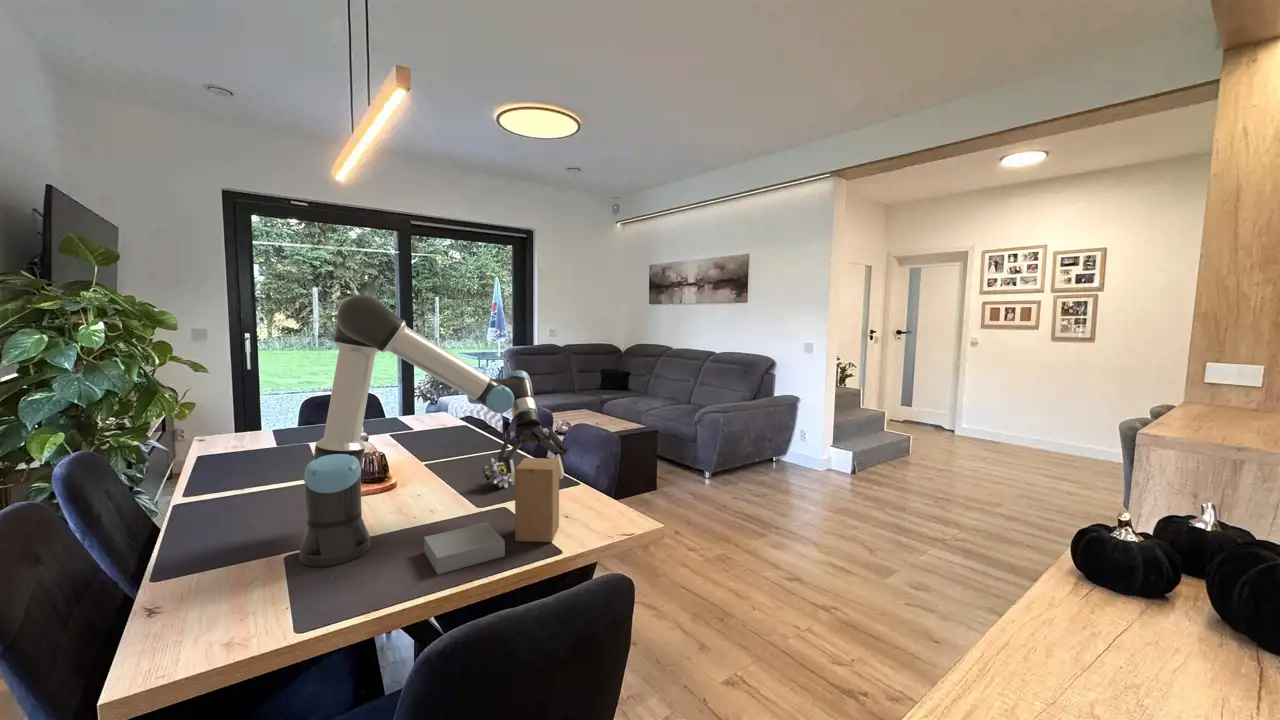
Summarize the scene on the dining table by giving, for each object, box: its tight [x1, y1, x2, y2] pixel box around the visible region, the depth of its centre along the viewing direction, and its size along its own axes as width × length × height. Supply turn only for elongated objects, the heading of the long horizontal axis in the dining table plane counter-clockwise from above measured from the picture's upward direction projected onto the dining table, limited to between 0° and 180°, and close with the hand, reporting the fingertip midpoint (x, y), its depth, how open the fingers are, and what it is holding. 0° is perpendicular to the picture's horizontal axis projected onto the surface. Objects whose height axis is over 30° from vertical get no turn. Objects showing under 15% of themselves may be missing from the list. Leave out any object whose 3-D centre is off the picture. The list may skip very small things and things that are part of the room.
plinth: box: [423, 521, 506, 575], centre depth 126 cm, size 16×13×4 cm
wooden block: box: [514, 457, 560, 543], centre depth 137 cm, size 10×10×20 cm
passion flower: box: [481, 457, 512, 489], centre depth 175 cm, size 11×11×12 cm
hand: (538, 479), depth 141 cm, fingers open, 13 cm apart
